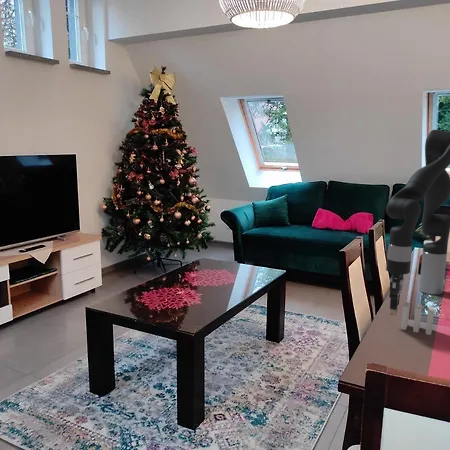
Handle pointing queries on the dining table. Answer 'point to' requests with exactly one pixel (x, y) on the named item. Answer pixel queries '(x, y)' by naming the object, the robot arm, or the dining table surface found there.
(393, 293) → the domino
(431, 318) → the domino
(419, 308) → the domino
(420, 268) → the battery
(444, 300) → the dining table surface
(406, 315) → the domino
